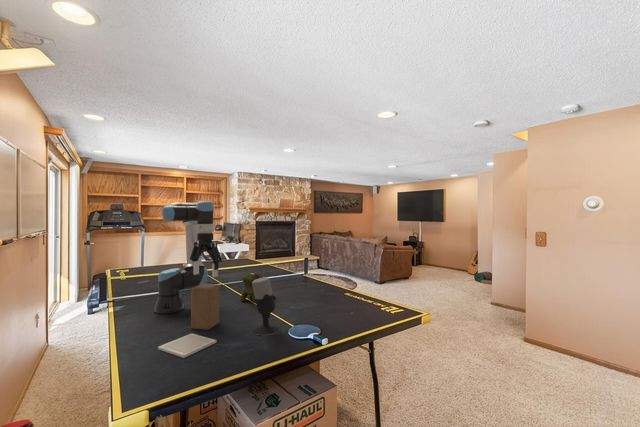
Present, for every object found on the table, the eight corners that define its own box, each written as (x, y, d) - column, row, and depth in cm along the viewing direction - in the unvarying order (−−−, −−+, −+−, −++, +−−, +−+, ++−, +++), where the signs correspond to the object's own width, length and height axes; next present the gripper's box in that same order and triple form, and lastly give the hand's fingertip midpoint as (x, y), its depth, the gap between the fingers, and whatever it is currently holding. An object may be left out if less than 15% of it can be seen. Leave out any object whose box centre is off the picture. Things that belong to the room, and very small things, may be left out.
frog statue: (267, 303, 202) (255, 303, 178) (245, 301, 204) (230, 300, 181) (270, 275, 208) (259, 271, 184) (249, 273, 210) (235, 269, 186)
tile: (158, 349, 121) (158, 346, 121) (191, 335, 135) (191, 332, 135) (183, 358, 114) (183, 355, 114) (216, 342, 128) (216, 339, 128)
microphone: (251, 326, 146) (251, 276, 146) (277, 324, 149) (277, 274, 150) (252, 337, 133) (252, 281, 134) (281, 333, 137) (281, 279, 137)
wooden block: (208, 330, 141) (208, 288, 141) (190, 329, 143) (190, 287, 143) (219, 323, 151) (219, 284, 151) (202, 322, 153) (202, 283, 153)
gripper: (182, 232, 150) (182, 274, 150) (217, 233, 138) (217, 279, 138) (195, 231, 157) (195, 272, 156) (229, 232, 145) (229, 276, 144)
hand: (205, 275), depth 147 cm, fingers open, 13 cm apart
